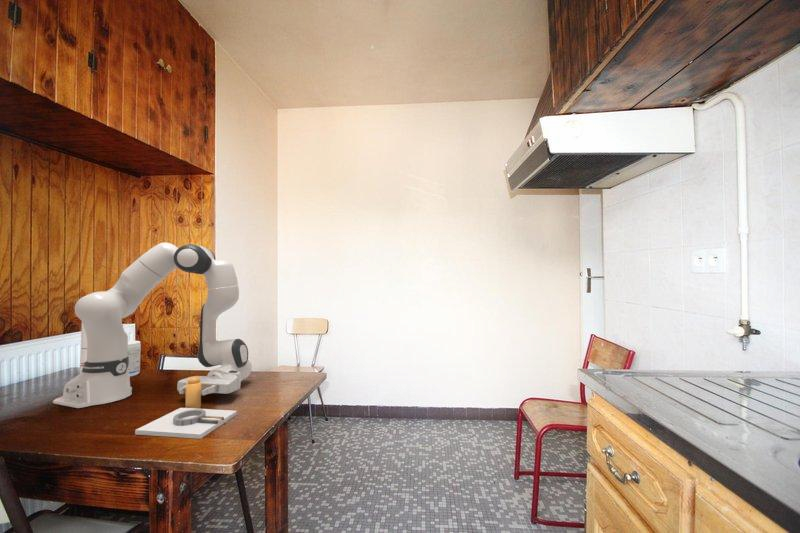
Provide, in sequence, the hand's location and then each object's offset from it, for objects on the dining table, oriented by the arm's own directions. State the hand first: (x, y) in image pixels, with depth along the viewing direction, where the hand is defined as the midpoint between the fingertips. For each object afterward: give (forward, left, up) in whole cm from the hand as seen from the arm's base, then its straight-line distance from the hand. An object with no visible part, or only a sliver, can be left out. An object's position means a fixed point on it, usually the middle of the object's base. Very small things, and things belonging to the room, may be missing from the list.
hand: (191, 392), depth 109 cm
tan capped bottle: (0, +1, -6) cm, 6 cm away
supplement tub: (-58, +31, -6) cm, 66 cm away
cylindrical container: (-74, +29, -6) cm, 80 cm away
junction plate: (+8, -10, -6) cm, 14 cm away
